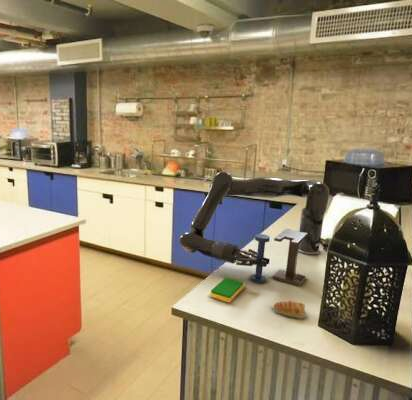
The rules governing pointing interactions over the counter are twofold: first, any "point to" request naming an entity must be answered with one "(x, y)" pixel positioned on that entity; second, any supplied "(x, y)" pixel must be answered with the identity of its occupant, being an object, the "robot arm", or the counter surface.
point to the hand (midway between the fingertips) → (267, 262)
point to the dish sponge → (227, 289)
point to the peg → (260, 255)
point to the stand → (291, 257)
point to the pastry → (290, 309)
